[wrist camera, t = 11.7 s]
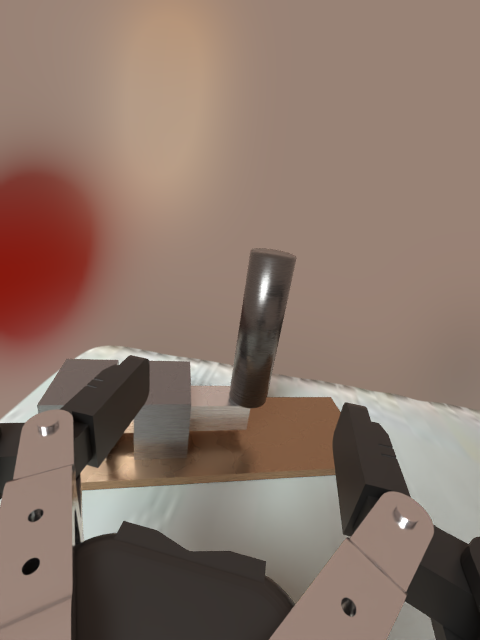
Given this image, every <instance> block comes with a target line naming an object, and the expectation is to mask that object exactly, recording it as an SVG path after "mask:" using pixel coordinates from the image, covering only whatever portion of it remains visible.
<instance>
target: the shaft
mask: <svg viewBox="0 0 480 640" xmlns="http://www.w3.org/2000/svg"><path fill="white" fill-rule="evenodd" d="M295 262H296V256H294V255H292V254H290V253H286V252H283V251H278V250H273V249H263V248H262V249H261V248H259V249H258V248H256V249H252V250H251V252H250V258H249V265H248V273H247V279H246V286H245V293H244V299H243V305H242V313H241V319H240V326H239V332H238V340H237V347H236V353H235V359H234V366H233V373H232V379H231V386H191V414H190V426H189V431H216V430H246V429H247V424H248V418H249V413H250V408H258V407H261V406H262V405H264V403H265V402H266V398H267V394H268V389H269V384H270V379H271V375H272V370H273V365H274V361H275V355H276V351H277V347H278V342H279V337H280V332H281V328H282V323H283V318H284V314H285V309H286V304H287V299H288V295H289V290H290V285H291V281H292V276H293V271H294V266H295ZM124 433H134V419H133V421H132V422H131V424H130V425H129V426H128V428H127V429H126V430H125V432H124Z"/></svg>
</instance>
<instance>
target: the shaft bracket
mask: <svg viewBox="0 0 480 640" xmlns="http://www.w3.org/2000/svg"><path fill="white" fill-rule="evenodd" d="M149 363H150V390H149V395H148V398H147V401H146V403H145V404H144V406H143V407H142V408H141V410H140V411H139V413H138V414H137V415H136V417H135V418H134V433H123V435H122V436H121V437H120V439H119V440H118V441H117V443H116V444H115V446H114V447H113V448H112V450H111V451H110V452H109V454H108V455H107V457H106V458H105V459H104V461H103V462H102V463H101V465H100V466H99V468H96V467H92V466H88V465H86V466H85V468H84V469H83V470H82V472H81V473H80V474H81V490H95V489H111V488H128V487H144V486H161V485H177V484H194V483H210V482H227V481H243V480H259V479H276V478H292V477H309V476H325V475H336V473H335V465H334V457H333V449H332V442H333V435H334V431H335V428H336V425H337V422H338V419H339V416H340V413H341V412H340V411H339V409H338V408H337V406H336V405H335V403H334V402H333V400H332V399H331V397H267V398H266V402H265V403H264V405H262V406H261V407H258V408H250V413H249V418H248V424H247V429H246V430H216V431H189V426H190V414H191V378H190V362H180V361H149ZM114 364H116V365H119V362H118V360H90V359H66V361H65V363H64V364H63V366H62V367H61V369H60V370H59V372H58V373H57V375H56V377H55V378H54V380H53V381H52V383H51V384H50V386H49V388H48V389H47V391H46V392H45V394H44V395H43V397H42V399H41V400H40V402H39V403H38V405H37V407H38V413H41V412H44V411H48V410H57V409H58V410H60V409H61V408H62V407H63V406H64V405H65V404H66V403H67V402H68V401H69V400H70V399H72V398H73V397H74V396H75V395H76V394H77V393H78V392H79V391H80V390H81V389H83V388H84V387H85V386H87V384H88V383H89V382H90V381H91V380H92V379H93V380H94V378H95V377H96V376H97V375H98V374H99V373H100V372H101V371H102V370H104V369H106V368H108V367H110V366H112V365H114Z"/></svg>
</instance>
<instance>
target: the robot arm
mask: <svg viewBox="0 0 480 640" xmlns="http://www.w3.org/2000/svg"><path fill="white" fill-rule="evenodd" d="M149 390H150V363H149V360H148V359H146V358H141V357H136V356H132V355H130V356H128V357H127V358H126V359H125V360H124V361H123V362H122V363H121V364H120V365H116V364H114V365H112V366H110V367H108V368H106V369H104V370H102V371H101V372H100V373H99V374H98V375H97V376H96V377H95V378H94V380H93V379H92V380H91V381H90V382H89V383H88V384H87V386H85V387H84V388H83V389H81V390H80V391H79V392H78V393H77V394H76V395H75V396H74V397H73V398H72V399H70V400H69V401H68V402H67V403H66V404H65V405H64V406H63V407H62V408H61V409H60V410H58V409H57V410H48V411H44V412H41V413H39V414H37V415H35V416H33V417H32V418H30V419H29V420H28V421H27V422H26V423H0V499H1V498H2V500H1V505H0V640H386V639H387V637H388V635H389V633H390V631H391V629H392V627H393V625H394V622H395V620H396V618H397V616H398V614H399V612H400V610H401V608H402V606H403V603H404V601H406V602H407V603H409V604H410V605H412V606H413V607H415V608H416V609H418V610H419V611H421V612H423V613H424V614H426V615H427V616H429V617H430V618H431V622H432V626H433V630H434V633H435V637H436V640H480V537H476V538H474V539H473V540H472V541H471V542H470V543H469V544H467V543H465V542H463V541H461V540H459V539H458V538H456V537H454V536H452V535H450V534H448V533H446V532H444V531H442V530H441V529H439V528H437V527H436V526H435V525H433V523H432V520H431V518H430V516H429V515H428V513H427V512H426V511H425V510H424V508H423V507H422V506H421V505H420V504H419V503H417V502H416V501H415V500H414V499H412V498H411V497H410V494H409V491H408V488H407V485H406V483H405V480H404V477H403V474H402V472H401V469H400V466H399V463H398V460H397V459H396V455H395V452H394V449H392V447H393V446H392V444H391V441H390V438H389V435H388V434H387V433H386V431H385V430H384V429H383V428H382V427H381V425H380V424H379V423H375V422H371V420H370V417H369V413H368V410H367V408H366V407H365V406H360V405H356V404H351V403H344V405H343V408H342V411H341V413H340V416H339V419H338V422H337V425H336V428H335V431H334V435H333V442H332V449H333V457H334V465H335V473H336V481H337V489H338V497H339V505H340V513H341V521H342V529H343V534H344V535H347V536H351V537H350V538H348V537H347V538H346V539H345V540H344V541H343V543H342V544H341V545H340V547H339V548H338V549H337V550H336V552H335V553H334V554H333V556H332V557H331V558H330V560H329V561H328V562H327V564H326V565H325V566H324V568H323V569H322V570H321V572H320V573H319V574H318V576H317V577H316V578H315V579H314V581H313V582H312V583H311V585H310V586H309V587H308V589H307V590H306V591H305V593H304V594H303V595H302V597H301V598H300V599H299V601H298V602H297V603H296V605H295V604H294V602H293V601H292V600H291V598H290V597H289V596H288V594H287V593H286V592H285V591H284V590H283V589H282V588H281V587H280V586H279V585H278V584H276V583H275V582H274V581H273V580H272V579H270V578H269V577H267V576H266V575H265V566H266V561H263V560H259V559H256V558H252V557H249V556H245V555H242V554H238V553H234V552H231V551H199V552H193V551H188V550H186V549H185V548H183V547H182V546H180V545H179V544H177V543H175V542H174V541H172V540H171V539H169V538H168V537H166V536H165V535H163V534H162V533H160V532H159V531H157V530H154V529H150V528H147V527H143V526H140V525H136V524H132V523H129V522H125V521H123V523H122V525H121V527H120V529H119V531H118V532H117V533H111V534H105V535H100V536H97V537H93V538H91V539H88V540H85V541H84V535H83V519H82V491H81V474H80V473H81V472H82V470H83V469H84V468H85V466H86V465H88V466H92V467H96V468H99V466H100V465H101V463H102V462H103V461H104V459H105V458H106V457H107V455H108V454H109V452H110V451H111V450H112V448H113V447H114V446H115V444H116V443H117V441H118V440H119V439H120V437H121V436H122V435H123V433H124V432H125V430H126V429H127V428H128V426H129V425H130V424H131V422H132V421H133V419H134V418H135V417H136V415H137V414H138V413H139V411H140V410H141V408H142V407H143V406H144V404H145V403H146V401H147V398H148V395H149Z"/></svg>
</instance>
